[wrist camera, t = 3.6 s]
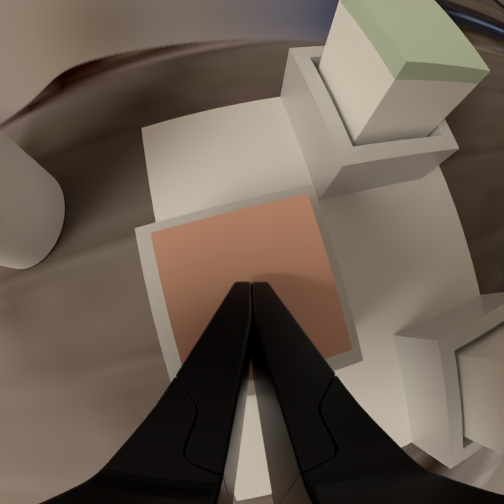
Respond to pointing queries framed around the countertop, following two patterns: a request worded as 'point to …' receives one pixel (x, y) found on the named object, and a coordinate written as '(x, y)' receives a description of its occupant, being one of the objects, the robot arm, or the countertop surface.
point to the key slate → (483, 388)
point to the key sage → (396, 68)
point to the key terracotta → (251, 270)
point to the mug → (27, 208)
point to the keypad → (338, 250)
